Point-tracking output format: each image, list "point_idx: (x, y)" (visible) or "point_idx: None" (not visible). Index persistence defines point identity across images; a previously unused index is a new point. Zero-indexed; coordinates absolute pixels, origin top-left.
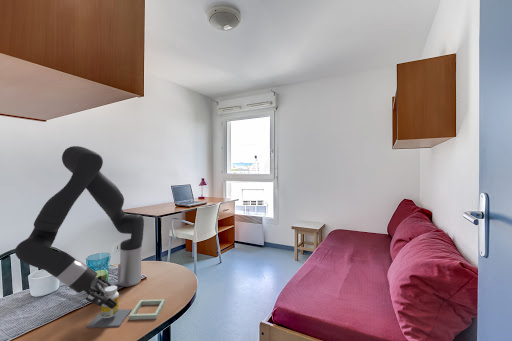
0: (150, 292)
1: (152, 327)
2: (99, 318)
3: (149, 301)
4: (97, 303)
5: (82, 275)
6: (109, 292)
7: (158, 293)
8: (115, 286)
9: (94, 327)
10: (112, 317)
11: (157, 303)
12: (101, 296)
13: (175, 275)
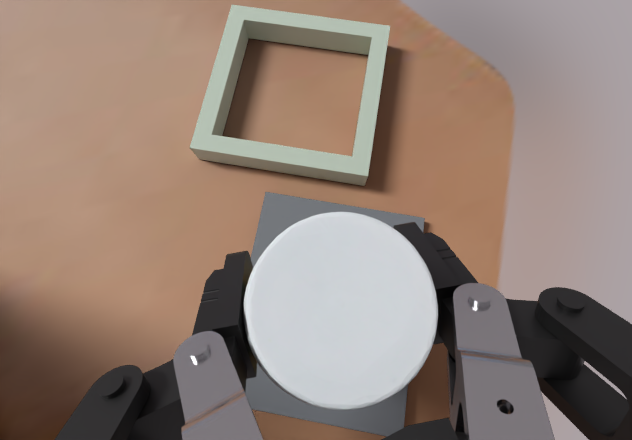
0: (76, 123)
1: (454, 52)
2: None
3: (225, 89)
4: (608, 390)
5: None
6: (433, 292)
7: (110, 72)
8: (288, 246)
9: None
10: None
11: (241, 54)
12: (628, 365)
13: None
